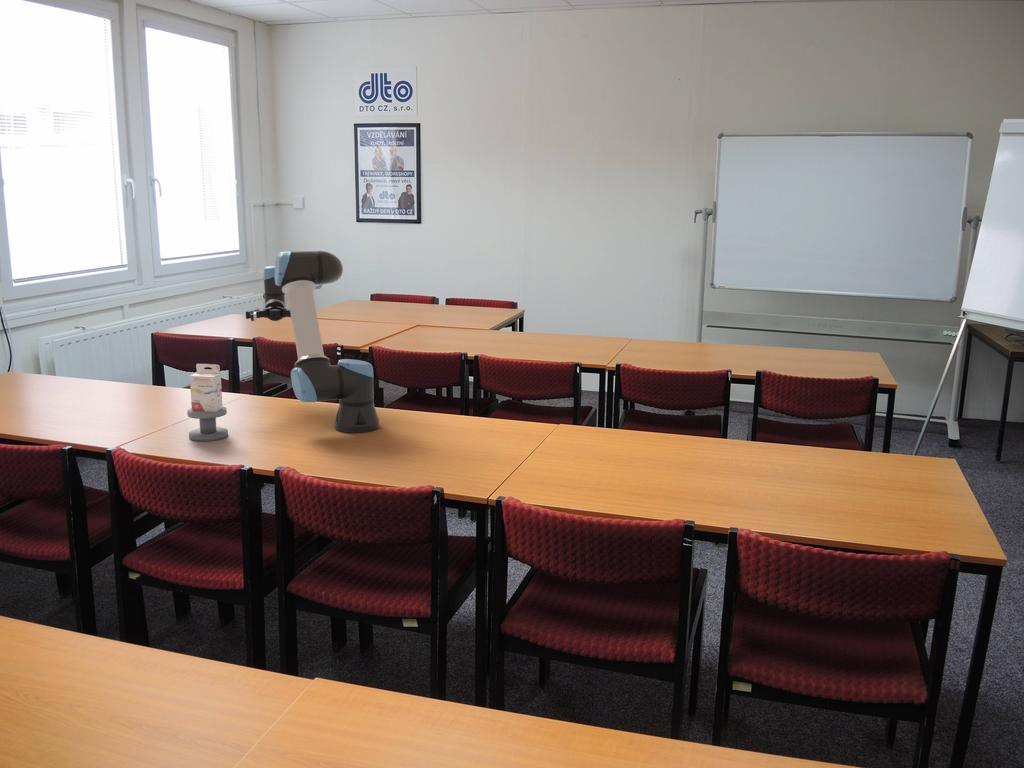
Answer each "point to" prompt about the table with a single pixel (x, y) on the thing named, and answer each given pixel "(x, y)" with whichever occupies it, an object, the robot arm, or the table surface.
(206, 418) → the stand
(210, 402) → the ink cartridge box
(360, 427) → the robot arm
